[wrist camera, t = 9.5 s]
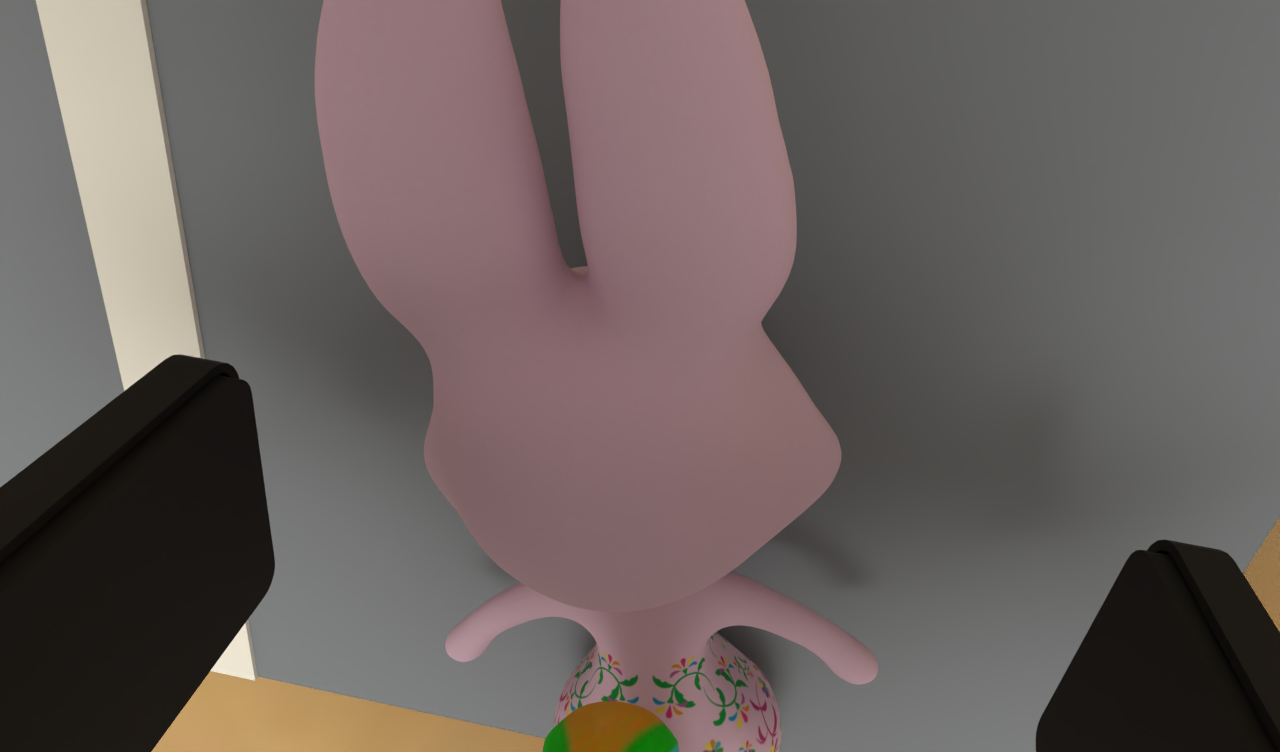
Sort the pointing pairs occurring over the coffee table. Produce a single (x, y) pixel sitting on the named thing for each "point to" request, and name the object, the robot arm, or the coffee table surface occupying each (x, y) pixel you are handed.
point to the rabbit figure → (596, 339)
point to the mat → (795, 323)
